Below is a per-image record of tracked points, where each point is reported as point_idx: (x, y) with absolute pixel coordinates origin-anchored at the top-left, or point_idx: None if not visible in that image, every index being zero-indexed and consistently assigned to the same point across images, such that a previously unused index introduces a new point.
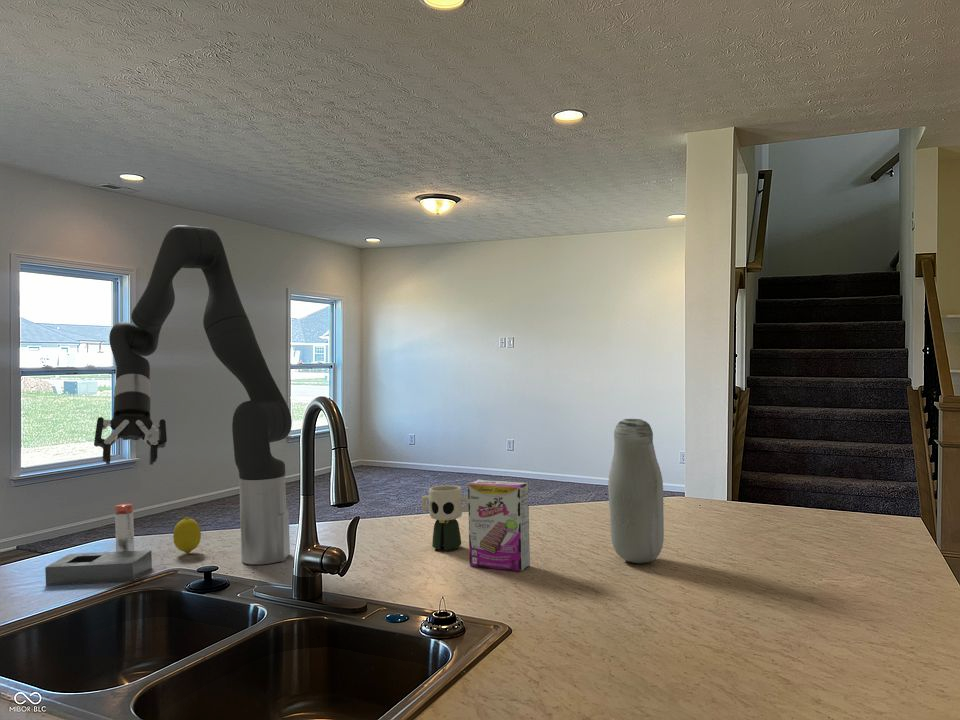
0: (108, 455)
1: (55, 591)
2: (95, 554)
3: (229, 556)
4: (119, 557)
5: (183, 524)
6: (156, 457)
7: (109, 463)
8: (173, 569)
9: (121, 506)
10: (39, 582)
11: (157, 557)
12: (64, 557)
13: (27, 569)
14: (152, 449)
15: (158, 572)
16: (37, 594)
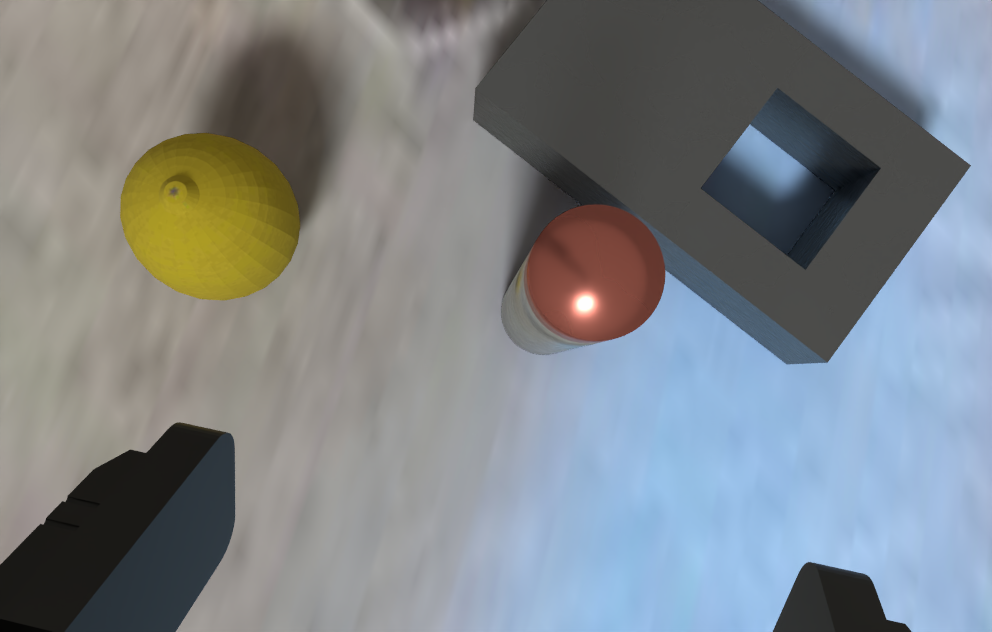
0: (865, 626)
1: (897, 65)
2: (726, 234)
3: (109, 19)
4: (646, 67)
5: (228, 156)
6: (108, 471)
7: (781, 618)
8: (408, 6)
9: (623, 242)
10: (928, 270)
11: (388, 295)
12: (863, 299)
13: (940, 574)
14: (89, 554)
15: (477, 11)
16: (961, 78)
